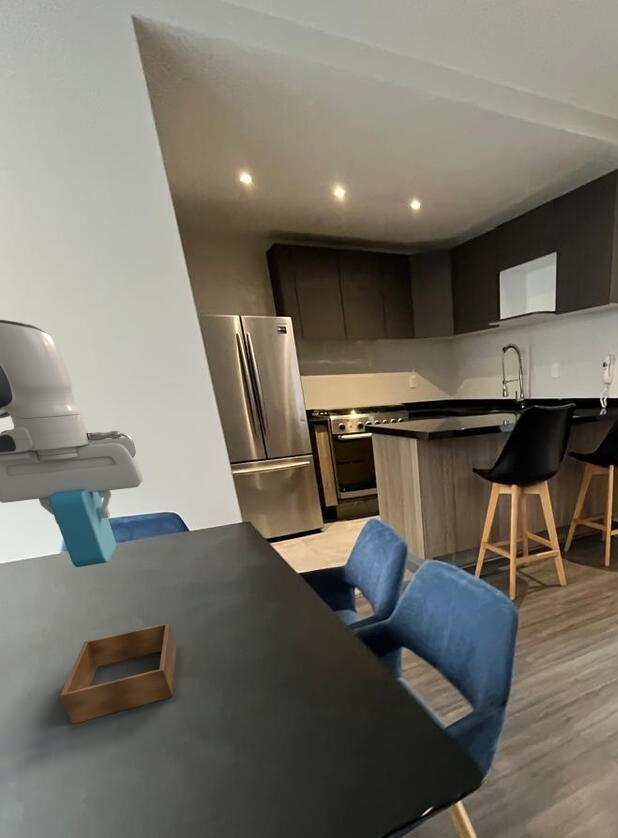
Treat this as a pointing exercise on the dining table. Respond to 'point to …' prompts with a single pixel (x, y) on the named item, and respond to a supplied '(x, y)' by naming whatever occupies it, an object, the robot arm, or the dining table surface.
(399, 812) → the dining table surface
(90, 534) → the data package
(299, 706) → the dining table surface
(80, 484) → the robot arm
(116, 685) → the wooden box
